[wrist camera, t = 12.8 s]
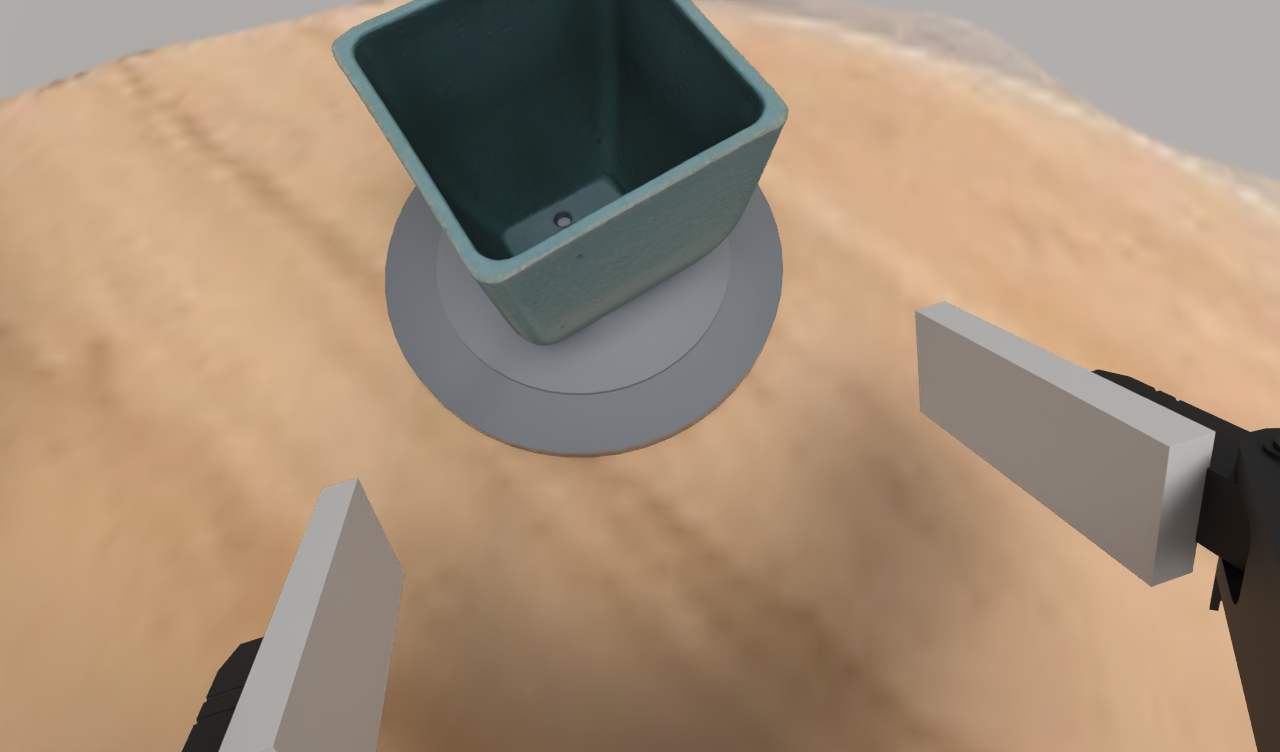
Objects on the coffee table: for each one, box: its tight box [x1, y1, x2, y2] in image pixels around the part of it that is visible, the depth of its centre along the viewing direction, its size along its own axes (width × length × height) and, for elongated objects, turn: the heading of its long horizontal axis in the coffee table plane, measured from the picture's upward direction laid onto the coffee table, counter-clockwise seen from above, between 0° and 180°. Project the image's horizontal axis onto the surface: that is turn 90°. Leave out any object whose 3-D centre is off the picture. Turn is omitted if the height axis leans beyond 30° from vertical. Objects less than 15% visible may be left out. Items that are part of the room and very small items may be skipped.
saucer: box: [385, 184, 783, 457], centre depth 26 cm, size 15×15×1 cm
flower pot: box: [332, 0, 788, 346], centre depth 21 cm, size 9×9×9 cm
